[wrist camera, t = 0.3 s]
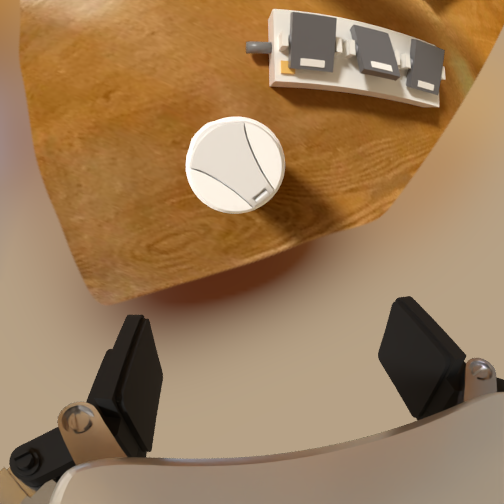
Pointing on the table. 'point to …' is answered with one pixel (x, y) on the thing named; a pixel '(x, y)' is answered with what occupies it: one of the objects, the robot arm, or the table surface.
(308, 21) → the rocker
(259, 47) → the strip
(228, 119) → the coffee cup
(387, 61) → the rocker mid
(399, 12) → the table surface
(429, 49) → the rocker
